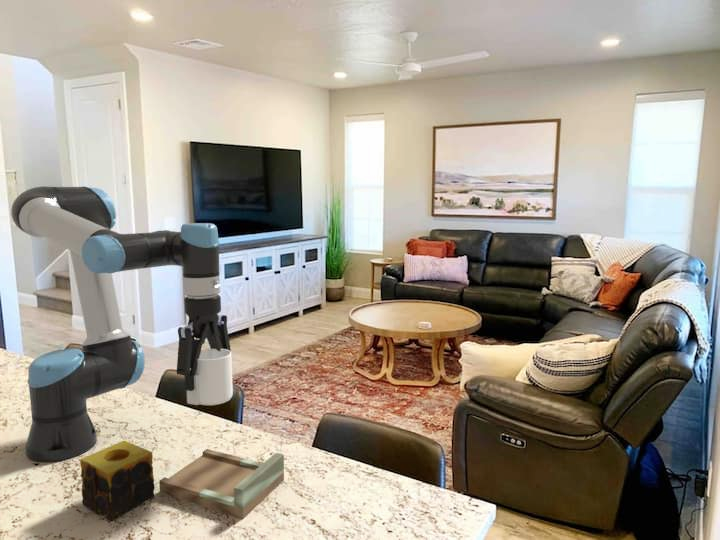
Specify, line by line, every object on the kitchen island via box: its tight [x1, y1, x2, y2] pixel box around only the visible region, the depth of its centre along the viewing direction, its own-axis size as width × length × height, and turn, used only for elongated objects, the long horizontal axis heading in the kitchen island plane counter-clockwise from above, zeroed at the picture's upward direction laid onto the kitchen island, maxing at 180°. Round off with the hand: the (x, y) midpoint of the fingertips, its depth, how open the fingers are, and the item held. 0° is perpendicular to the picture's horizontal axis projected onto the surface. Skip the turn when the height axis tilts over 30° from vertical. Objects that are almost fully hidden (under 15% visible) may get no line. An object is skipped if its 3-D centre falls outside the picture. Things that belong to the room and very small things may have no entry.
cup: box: [190, 348, 234, 406], centre depth 115 cm, size 8×12×10 cm
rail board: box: [158, 448, 285, 519], centre depth 111 cm, size 21×15×6 cm
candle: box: [79, 440, 155, 522], centre depth 105 cm, size 10×10×10 cm
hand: (206, 396), depth 115 cm, fingers closed on cup, 8 cm apart
